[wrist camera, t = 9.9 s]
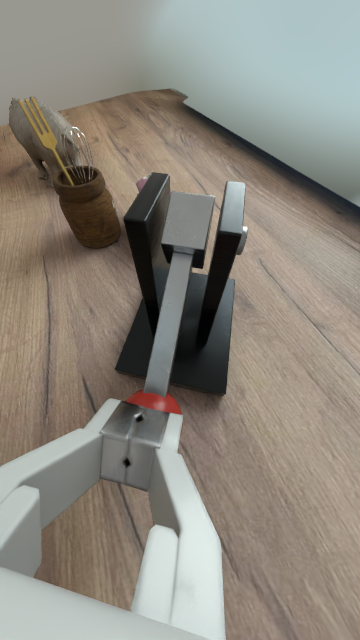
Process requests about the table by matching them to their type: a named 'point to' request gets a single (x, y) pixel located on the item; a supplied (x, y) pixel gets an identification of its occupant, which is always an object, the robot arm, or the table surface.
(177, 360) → the bracket
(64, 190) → the utensil holder
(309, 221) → the table surface
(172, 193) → the lever
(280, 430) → the table surface
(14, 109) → the rhinoceros figurine
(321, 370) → the table surface
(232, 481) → the table surface
